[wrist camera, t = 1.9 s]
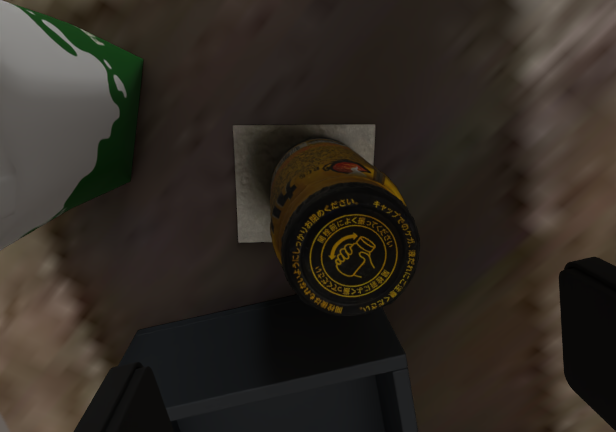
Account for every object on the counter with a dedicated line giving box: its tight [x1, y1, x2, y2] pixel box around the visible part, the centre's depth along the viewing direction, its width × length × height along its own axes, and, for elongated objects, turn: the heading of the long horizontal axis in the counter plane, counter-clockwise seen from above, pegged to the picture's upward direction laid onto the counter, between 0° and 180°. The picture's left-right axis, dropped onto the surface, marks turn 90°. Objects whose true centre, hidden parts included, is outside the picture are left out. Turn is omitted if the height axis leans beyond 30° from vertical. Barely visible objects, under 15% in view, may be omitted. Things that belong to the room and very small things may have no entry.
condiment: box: [233, 124, 420, 316], centre depth 22 cm, size 7×8×12 cm
